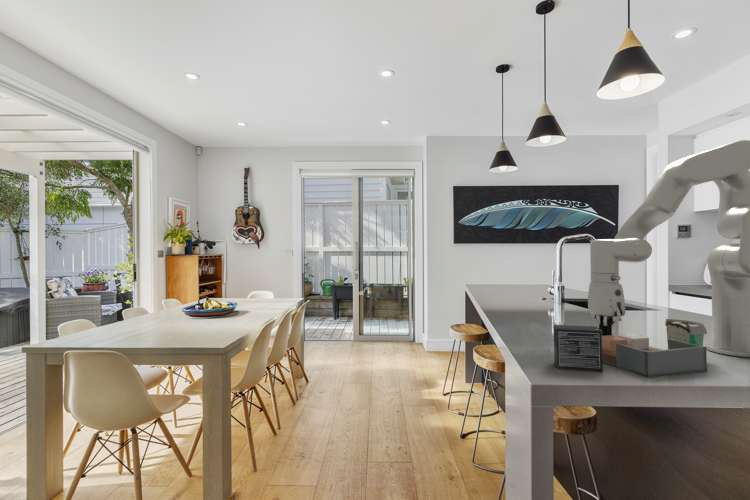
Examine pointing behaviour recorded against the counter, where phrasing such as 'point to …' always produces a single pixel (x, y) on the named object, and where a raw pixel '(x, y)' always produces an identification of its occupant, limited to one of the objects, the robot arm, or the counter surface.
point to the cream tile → (635, 341)
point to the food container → (685, 331)
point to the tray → (662, 359)
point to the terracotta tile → (612, 342)
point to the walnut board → (611, 356)
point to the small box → (578, 348)
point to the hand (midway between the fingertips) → (605, 337)
